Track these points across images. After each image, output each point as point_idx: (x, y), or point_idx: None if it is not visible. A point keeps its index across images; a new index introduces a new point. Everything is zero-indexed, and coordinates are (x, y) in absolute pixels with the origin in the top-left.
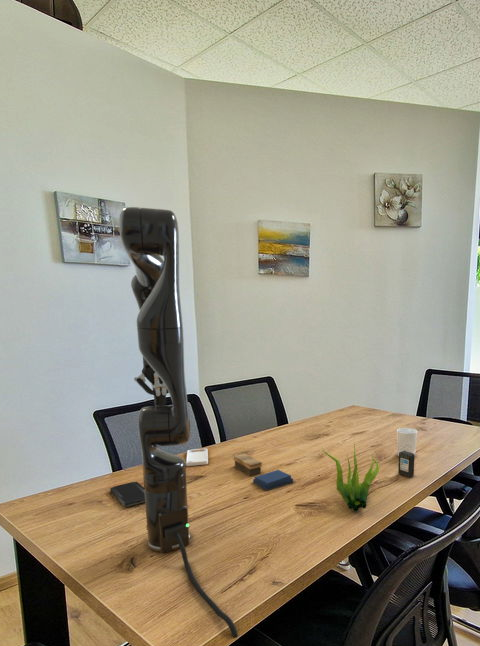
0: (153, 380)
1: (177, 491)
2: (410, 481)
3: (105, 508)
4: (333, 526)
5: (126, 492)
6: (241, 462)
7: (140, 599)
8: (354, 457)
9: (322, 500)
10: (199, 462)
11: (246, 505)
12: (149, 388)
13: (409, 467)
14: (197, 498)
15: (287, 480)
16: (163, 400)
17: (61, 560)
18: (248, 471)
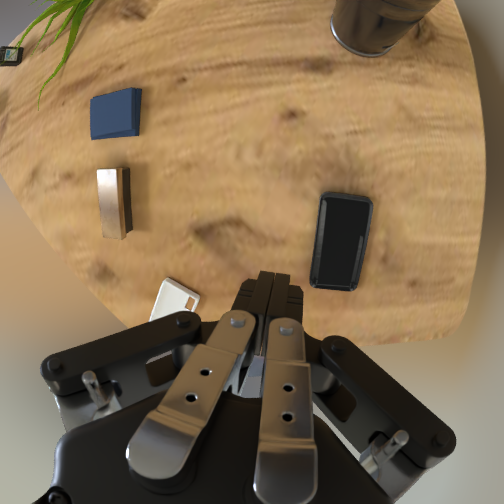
0: (309, 433)
1: None
2: (29, 38)
3: (392, 224)
4: None
5: (346, 251)
6: (121, 204)
7: None
8: (35, 21)
9: (111, 19)
10: (177, 286)
11: (198, 52)
12: (353, 374)
13: (13, 47)
14: (251, 136)
15: (101, 95)
16: (256, 293)
17: (479, 113)
18: (125, 176)
